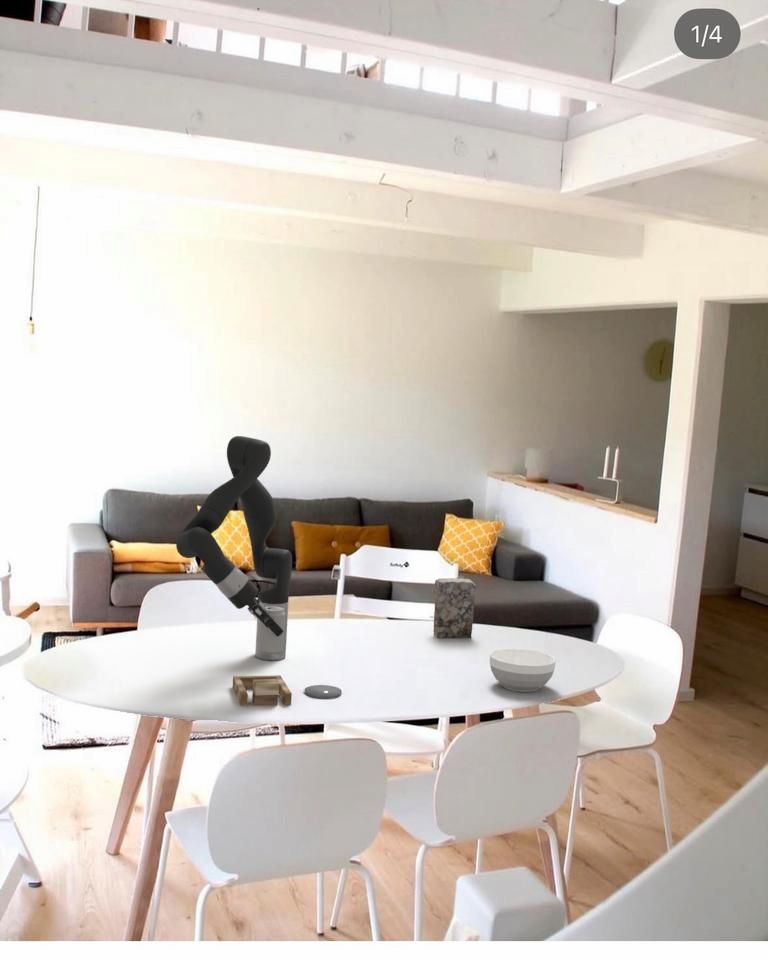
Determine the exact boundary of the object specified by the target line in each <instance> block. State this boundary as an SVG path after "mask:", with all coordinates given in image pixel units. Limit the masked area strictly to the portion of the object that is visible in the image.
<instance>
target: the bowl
mask: <svg viewBox="0 0 768 960" xmlns="http://www.w3.org/2000/svg"><path fill="white" fill-rule="evenodd" d="M556 663H557V662H556V659H555V657H554V656H552V655H550V654H547V653H545V652H540V651H538V650H537V651H536V650H531V649H520V648H503V649H502V648H501V649H497V650H493V651H491V652H490V653H489V666H490V670H491V673H492V675H493V677H494V678H495V679H496V681H497V682H499V683H500V684H501V686H502V687H503V688H504V689H506V690H510V691H513V692H514V691H515V692H519V693H532V692H537V691H538V690H540V688H542V687H543V686H545V685H546V684H547V683H549V681H550V680H551V678H552V677H553V674H554V672H555V668H556Z"/></svg>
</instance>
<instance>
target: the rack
mask: <svg viewBox="0 0 768 960" xmlns="http://www.w3.org/2000/svg"><path fill="white" fill-rule="evenodd" d="M259 679H276V680H277V681H278V682H279V694H278V696H280V698H281V701H282V702H283V704H284V706H287V705H289V706H290V705H292V696H293V695H292V694H293V693H292V692H291V689H290V688H289V687H288V686H287V684H286V681H285V680H284V679H283V677H282V676H281V674H280V675H279V674H277V675H276V674H275V675H239V676H238V675H236V676H234V675H233V676H232V689H233V691H234V693H235V697H236V698H237V700H238V702H239V705H240V707H248V700H249V699H248V698H249V697H248V696H249V694H248V692H247V690H246V689H253V680H259Z"/></svg>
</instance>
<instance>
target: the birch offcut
mask: <svg viewBox="0 0 768 960" xmlns="http://www.w3.org/2000/svg"><path fill="white" fill-rule="evenodd" d="M253 692H254V694H255V695H278V696H279V682H278V681H277V680H276V679H259V680H253V688H252V693H253Z"/></svg>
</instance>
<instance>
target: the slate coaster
mask: <svg viewBox="0 0 768 960" xmlns="http://www.w3.org/2000/svg"><path fill="white" fill-rule="evenodd" d="M342 691H343V690H342V689H341V688H340V687H337V686H333V685H329V684H328V685H326V684H313V685H309V686H306V687H305V688H304V695H306V696H307V697H310V698H314V699H321V700H324V699H325V700H326V699H327V700H330V699H336V698H339V697H341V696H342Z"/></svg>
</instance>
